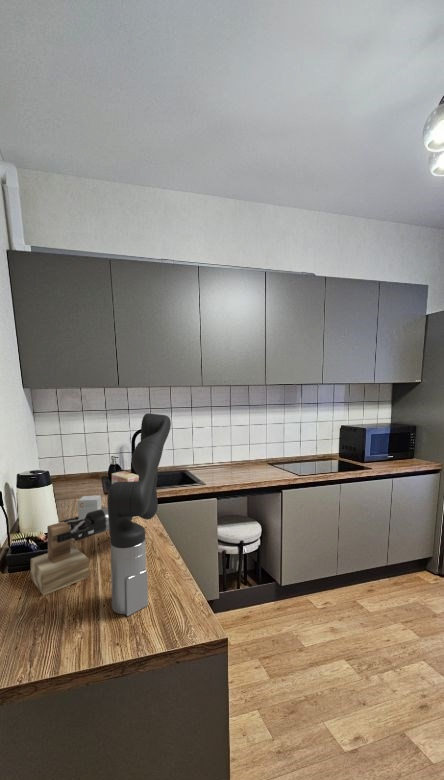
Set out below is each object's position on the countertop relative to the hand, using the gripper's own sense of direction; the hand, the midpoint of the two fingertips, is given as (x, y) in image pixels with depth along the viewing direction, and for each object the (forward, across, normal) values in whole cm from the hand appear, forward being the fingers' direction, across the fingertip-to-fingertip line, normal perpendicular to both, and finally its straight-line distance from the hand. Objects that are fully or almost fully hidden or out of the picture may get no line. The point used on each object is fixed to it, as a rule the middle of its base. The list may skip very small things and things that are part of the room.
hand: (52, 535), depth 102 cm
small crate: (-2, 0, +8) cm, 8 cm away
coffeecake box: (-43, -34, +14) cm, 57 cm away
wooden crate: (-2, 0, +14) cm, 14 cm away
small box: (-25, -32, +14) cm, 43 cm away
